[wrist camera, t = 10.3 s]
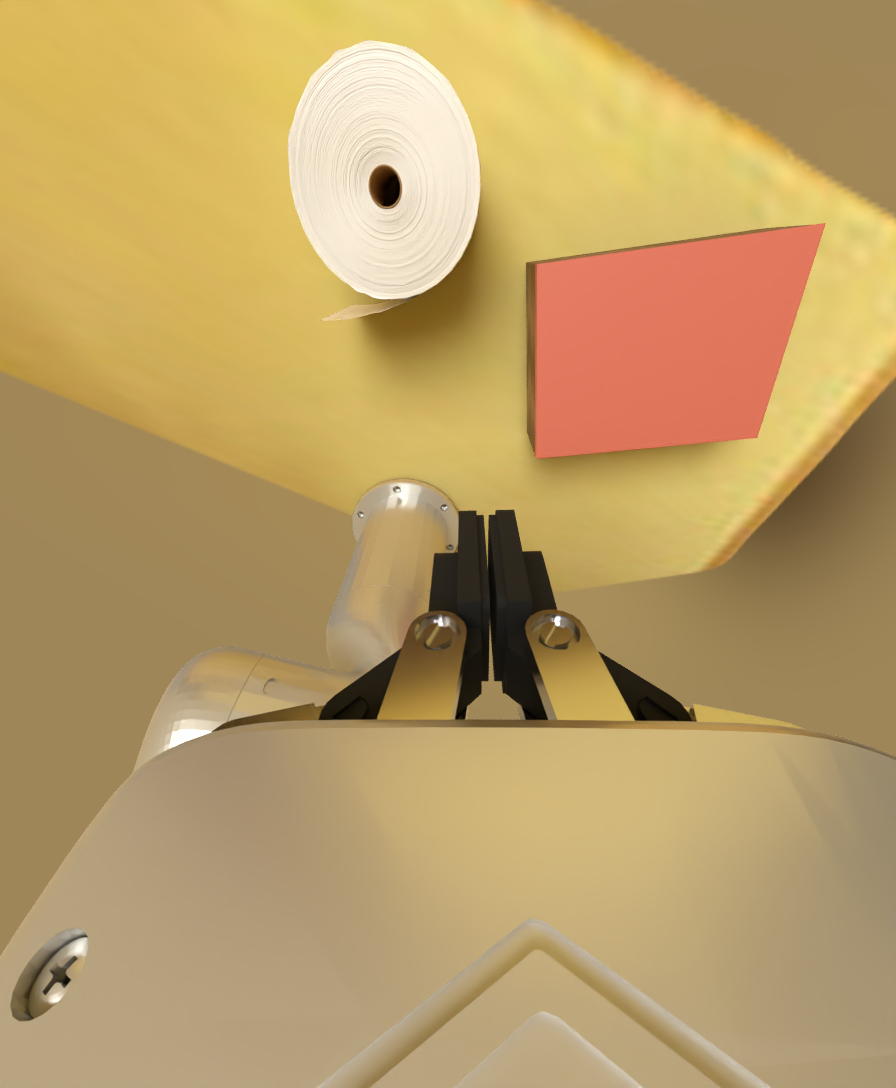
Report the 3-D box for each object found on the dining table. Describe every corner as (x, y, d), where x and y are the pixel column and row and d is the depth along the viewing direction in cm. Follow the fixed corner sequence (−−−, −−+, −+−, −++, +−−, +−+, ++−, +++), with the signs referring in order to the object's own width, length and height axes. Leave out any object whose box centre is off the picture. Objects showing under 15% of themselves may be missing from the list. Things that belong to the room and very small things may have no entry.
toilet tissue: (483, 104, 27) (490, 42, 19) (471, 309, 34) (473, 327, 26) (325, 99, 27) (266, 35, 19) (346, 304, 34) (309, 320, 26)
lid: (750, 433, 34) (757, 437, 33) (534, 454, 36) (536, 458, 35) (814, 224, 26) (825, 223, 25) (535, 264, 28) (536, 264, 27)
